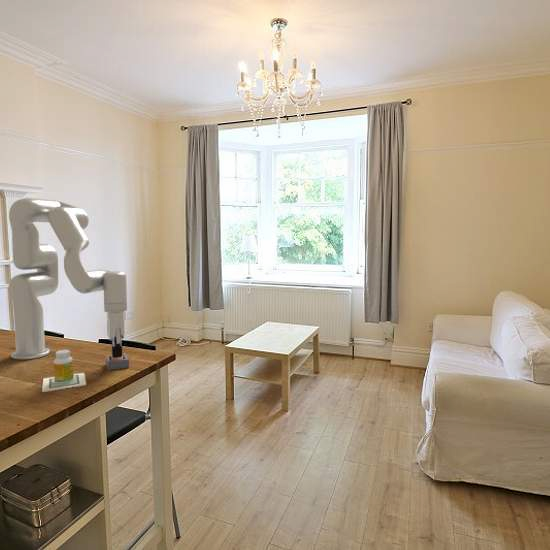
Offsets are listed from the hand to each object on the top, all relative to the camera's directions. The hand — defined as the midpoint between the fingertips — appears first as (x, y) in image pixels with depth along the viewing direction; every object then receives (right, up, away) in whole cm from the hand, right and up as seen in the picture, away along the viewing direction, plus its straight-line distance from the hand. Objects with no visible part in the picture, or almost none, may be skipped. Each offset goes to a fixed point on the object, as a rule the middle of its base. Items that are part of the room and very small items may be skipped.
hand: (117, 356), depth 142 cm
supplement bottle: (-11, -5, -15) cm, 19 cm away
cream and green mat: (-11, -5, -15) cm, 20 cm away
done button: (0, -3, 0) cm, 3 cm away
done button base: (0, -3, 0) cm, 4 cm away
